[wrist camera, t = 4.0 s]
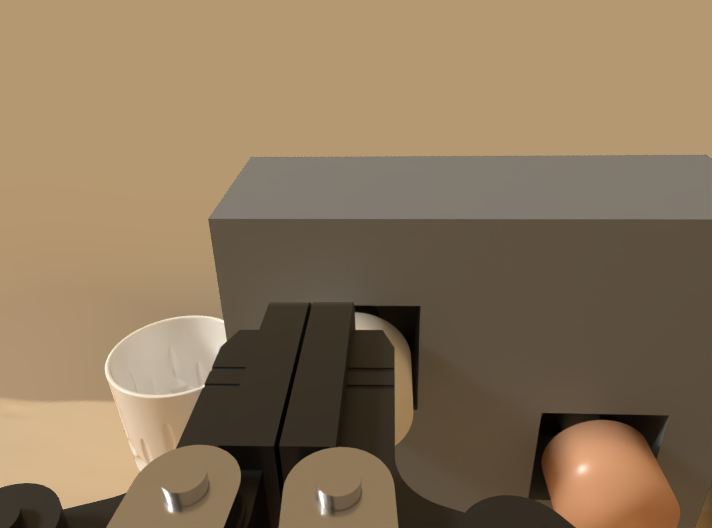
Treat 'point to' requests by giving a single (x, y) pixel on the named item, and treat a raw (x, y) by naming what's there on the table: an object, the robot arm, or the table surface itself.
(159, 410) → the white cup
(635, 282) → the button console
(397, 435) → the cream button
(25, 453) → the table surface
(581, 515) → the terracotta button
